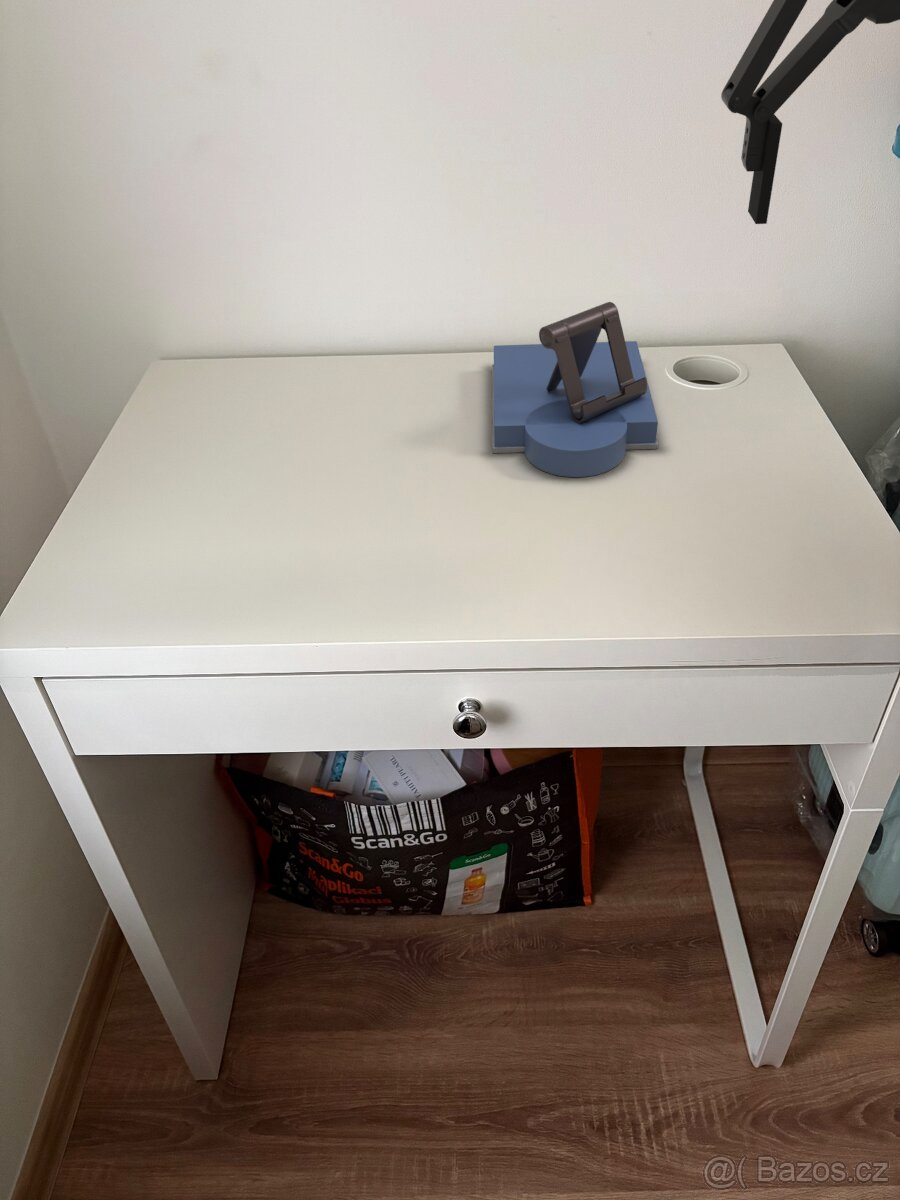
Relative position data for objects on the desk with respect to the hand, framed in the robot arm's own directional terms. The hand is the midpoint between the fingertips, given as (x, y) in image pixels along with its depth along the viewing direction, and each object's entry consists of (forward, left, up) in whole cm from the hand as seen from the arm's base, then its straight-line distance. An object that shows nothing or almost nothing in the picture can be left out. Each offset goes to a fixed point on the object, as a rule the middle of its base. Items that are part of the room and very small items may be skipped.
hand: (854, 214), depth 68 cm
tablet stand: (+18, +16, -24) cm, 34 cm away
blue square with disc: (+20, +18, -27) cm, 38 cm away
